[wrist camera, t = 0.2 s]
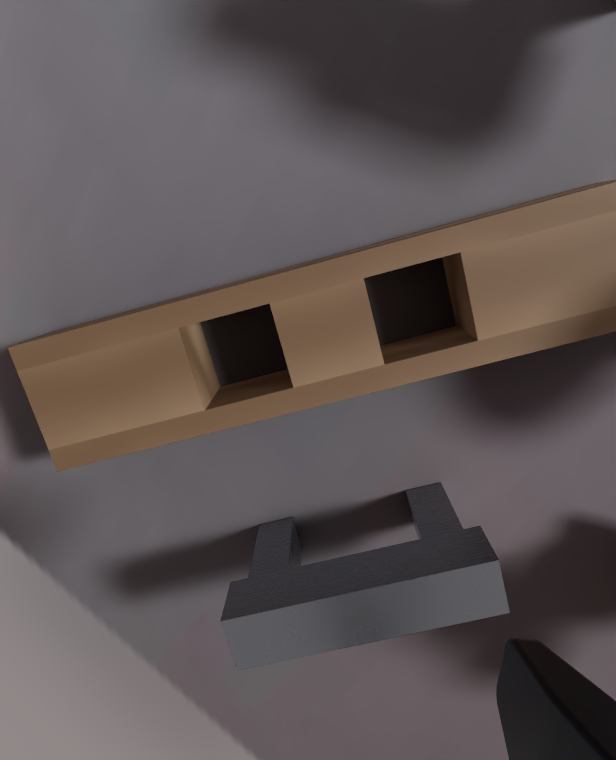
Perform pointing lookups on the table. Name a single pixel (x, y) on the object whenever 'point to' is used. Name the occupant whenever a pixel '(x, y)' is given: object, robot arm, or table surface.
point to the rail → (327, 330)
